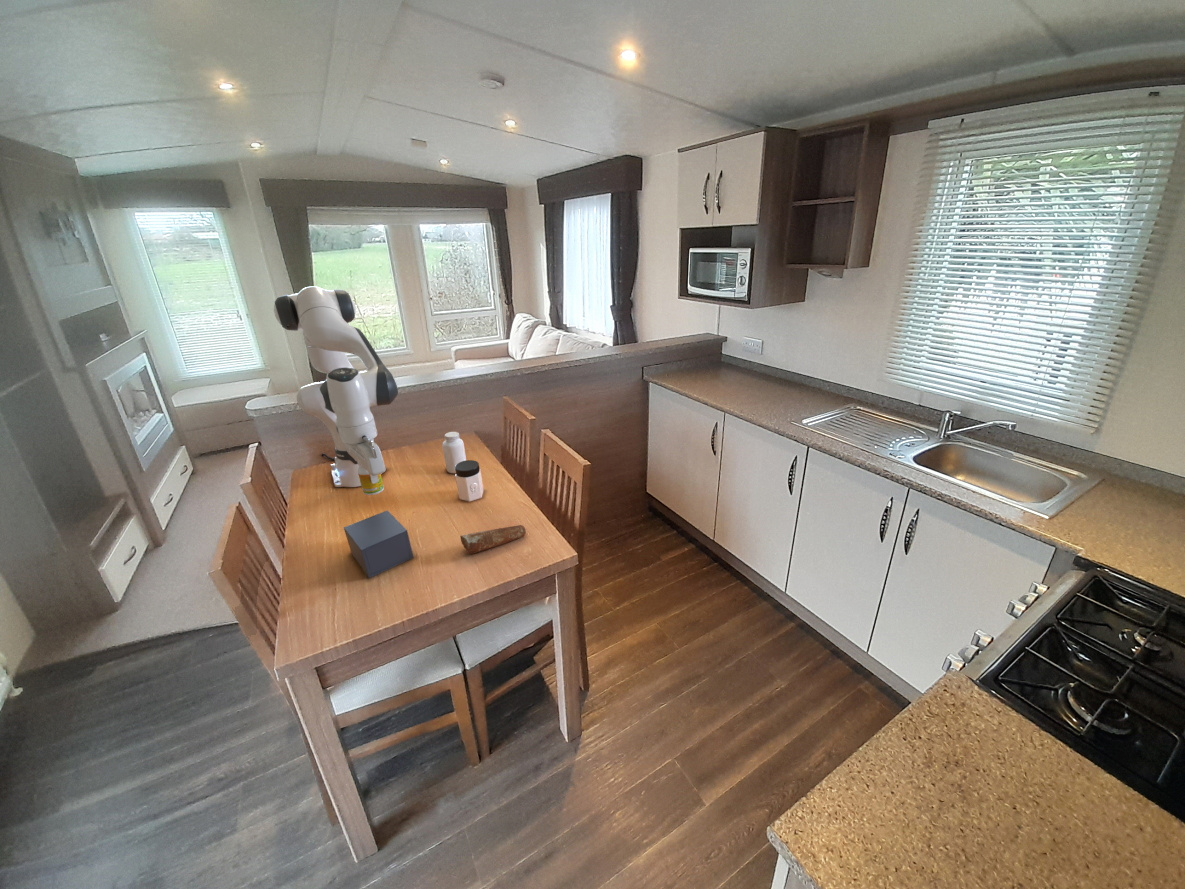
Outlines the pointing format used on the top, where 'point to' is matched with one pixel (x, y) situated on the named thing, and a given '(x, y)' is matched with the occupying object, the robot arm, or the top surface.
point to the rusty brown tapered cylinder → (491, 538)
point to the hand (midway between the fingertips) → (370, 477)
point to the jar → (469, 480)
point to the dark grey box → (378, 543)
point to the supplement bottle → (369, 482)
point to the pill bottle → (453, 451)
